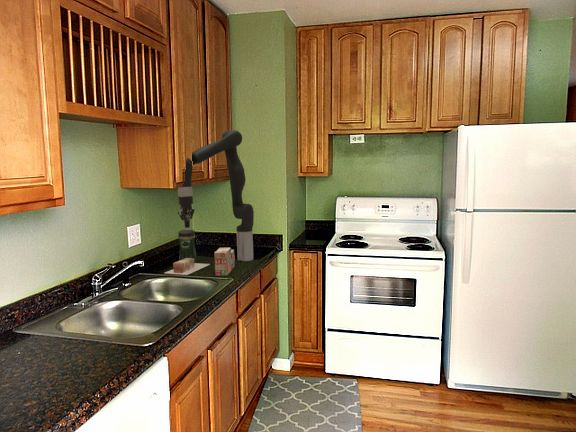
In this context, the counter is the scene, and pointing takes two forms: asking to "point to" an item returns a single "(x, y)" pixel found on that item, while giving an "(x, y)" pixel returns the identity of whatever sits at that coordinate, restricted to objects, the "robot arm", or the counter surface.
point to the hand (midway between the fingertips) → (187, 227)
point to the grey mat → (196, 267)
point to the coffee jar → (187, 244)
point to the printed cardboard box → (224, 261)
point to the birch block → (183, 265)
